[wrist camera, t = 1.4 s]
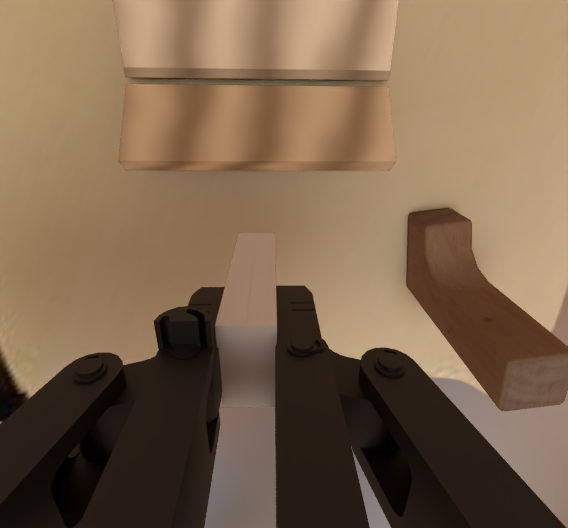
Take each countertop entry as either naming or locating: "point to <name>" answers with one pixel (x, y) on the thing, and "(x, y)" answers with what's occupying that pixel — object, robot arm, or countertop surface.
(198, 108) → the board
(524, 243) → the countertop surface
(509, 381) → the wooden block
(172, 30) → the laid board
